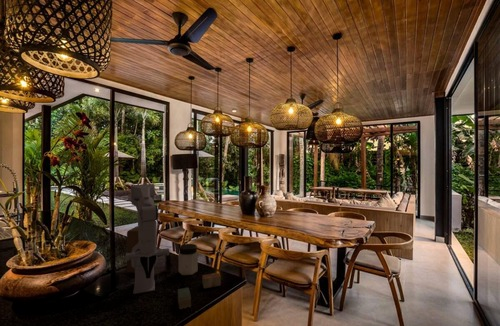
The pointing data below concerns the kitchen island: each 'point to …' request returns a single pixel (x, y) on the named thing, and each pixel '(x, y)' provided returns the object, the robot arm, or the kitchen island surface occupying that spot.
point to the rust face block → (211, 280)
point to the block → (131, 246)
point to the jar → (188, 259)
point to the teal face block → (184, 298)
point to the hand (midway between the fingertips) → (148, 277)
